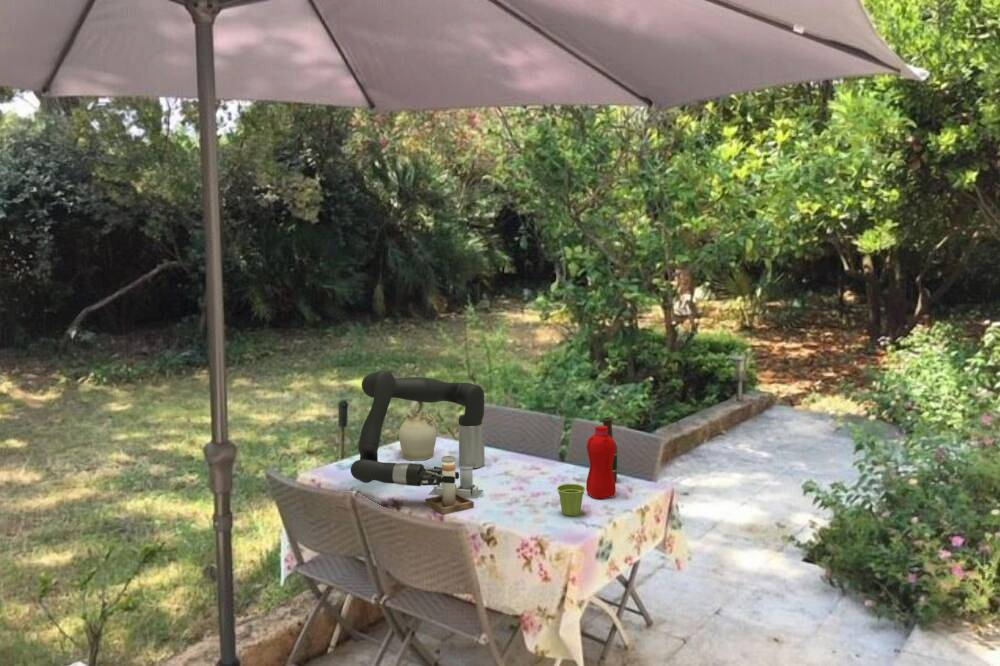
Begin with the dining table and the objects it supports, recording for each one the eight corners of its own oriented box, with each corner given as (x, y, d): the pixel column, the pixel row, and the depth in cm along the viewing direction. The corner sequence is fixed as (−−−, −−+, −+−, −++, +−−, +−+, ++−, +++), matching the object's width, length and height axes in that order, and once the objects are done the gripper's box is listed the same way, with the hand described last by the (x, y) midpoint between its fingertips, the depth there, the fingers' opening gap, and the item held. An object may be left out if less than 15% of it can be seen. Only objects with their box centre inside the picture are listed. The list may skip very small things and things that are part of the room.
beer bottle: (612, 485, 298) (612, 421, 295) (592, 482, 303) (593, 419, 299) (620, 479, 305) (621, 417, 302) (601, 476, 309) (602, 414, 306)
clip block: (427, 496, 288) (427, 488, 288) (435, 488, 297) (435, 480, 296) (477, 500, 284) (476, 492, 283) (483, 492, 292) (483, 484, 292)
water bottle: (604, 488, 296) (604, 420, 292) (618, 497, 285) (619, 427, 282) (581, 491, 293) (581, 423, 289) (595, 500, 282) (595, 430, 279)
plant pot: (551, 512, 272) (551, 487, 271) (572, 506, 277) (572, 481, 276) (569, 520, 264) (569, 494, 263) (591, 514, 270) (591, 488, 268)
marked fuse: (451, 500, 279) (451, 455, 277) (458, 504, 275) (457, 458, 273) (439, 502, 277) (439, 457, 274) (446, 506, 273) (445, 460, 271)
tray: (455, 499, 284) (455, 492, 284) (473, 509, 275) (473, 501, 274) (425, 506, 278) (425, 498, 278) (442, 517, 268) (442, 509, 268)
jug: (444, 456, 338) (443, 397, 335) (415, 464, 327) (414, 403, 323) (420, 449, 348) (418, 392, 345) (391, 457, 337) (390, 397, 334)
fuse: (468, 490, 292) (468, 463, 291) (475, 493, 289) (474, 466, 287) (457, 492, 290) (457, 465, 288) (464, 495, 286) (464, 468, 285)
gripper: (401, 469, 271) (450, 473, 267) (415, 457, 284) (462, 460, 280) (401, 491, 272) (450, 495, 268) (415, 478, 286) (462, 482, 281)
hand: (456, 477), depth 274 cm, fingers closed on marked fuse, 4 cm apart
